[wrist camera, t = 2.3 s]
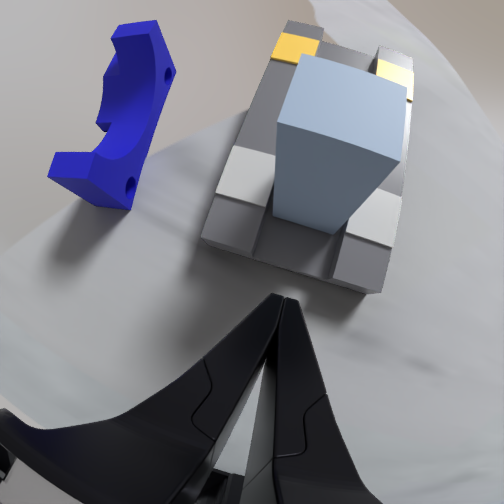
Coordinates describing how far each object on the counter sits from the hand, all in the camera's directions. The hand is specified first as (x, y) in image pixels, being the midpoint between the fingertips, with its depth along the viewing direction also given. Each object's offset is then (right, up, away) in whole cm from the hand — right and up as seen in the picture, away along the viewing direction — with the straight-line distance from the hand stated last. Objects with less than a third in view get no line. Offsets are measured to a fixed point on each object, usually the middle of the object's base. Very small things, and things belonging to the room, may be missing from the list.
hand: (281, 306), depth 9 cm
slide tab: (+2, +5, +8) cm, 10 cm away
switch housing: (+4, +9, +10) cm, 14 cm away
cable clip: (-10, +11, +12) cm, 19 cm away
